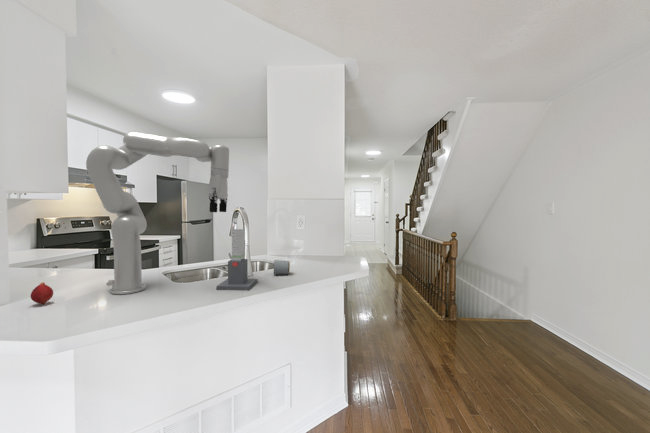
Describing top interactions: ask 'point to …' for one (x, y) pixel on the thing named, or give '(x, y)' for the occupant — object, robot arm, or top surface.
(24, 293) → the top surface
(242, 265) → the stand
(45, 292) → the onion
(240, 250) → the column
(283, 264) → the ceramic mug
